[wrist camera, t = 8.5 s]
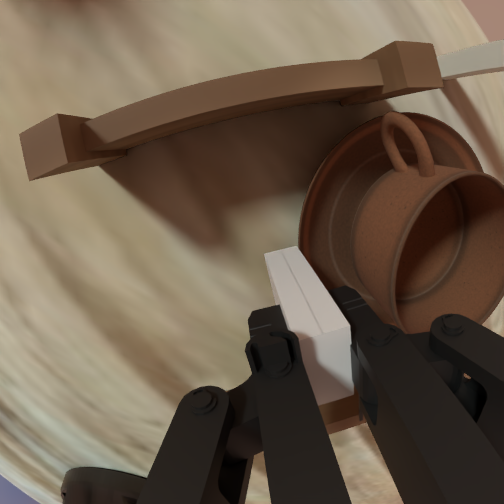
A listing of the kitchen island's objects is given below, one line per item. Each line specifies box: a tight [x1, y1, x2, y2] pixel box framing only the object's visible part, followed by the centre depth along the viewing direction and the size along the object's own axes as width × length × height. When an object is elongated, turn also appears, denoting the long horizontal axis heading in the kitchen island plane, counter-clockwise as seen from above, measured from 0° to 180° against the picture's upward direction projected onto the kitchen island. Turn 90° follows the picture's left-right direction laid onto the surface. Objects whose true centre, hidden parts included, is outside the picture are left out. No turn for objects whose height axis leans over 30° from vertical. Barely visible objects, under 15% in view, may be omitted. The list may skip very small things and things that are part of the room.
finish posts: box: [437, 39, 504, 80], centre depth 12 cm, size 19×1×7 cm, turn 13°
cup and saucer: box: [298, 111, 504, 334], centre depth 13 cm, size 12×12×6 cm
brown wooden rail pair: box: [19, 41, 444, 435], centre depth 13 cm, size 18×14×6 cm
